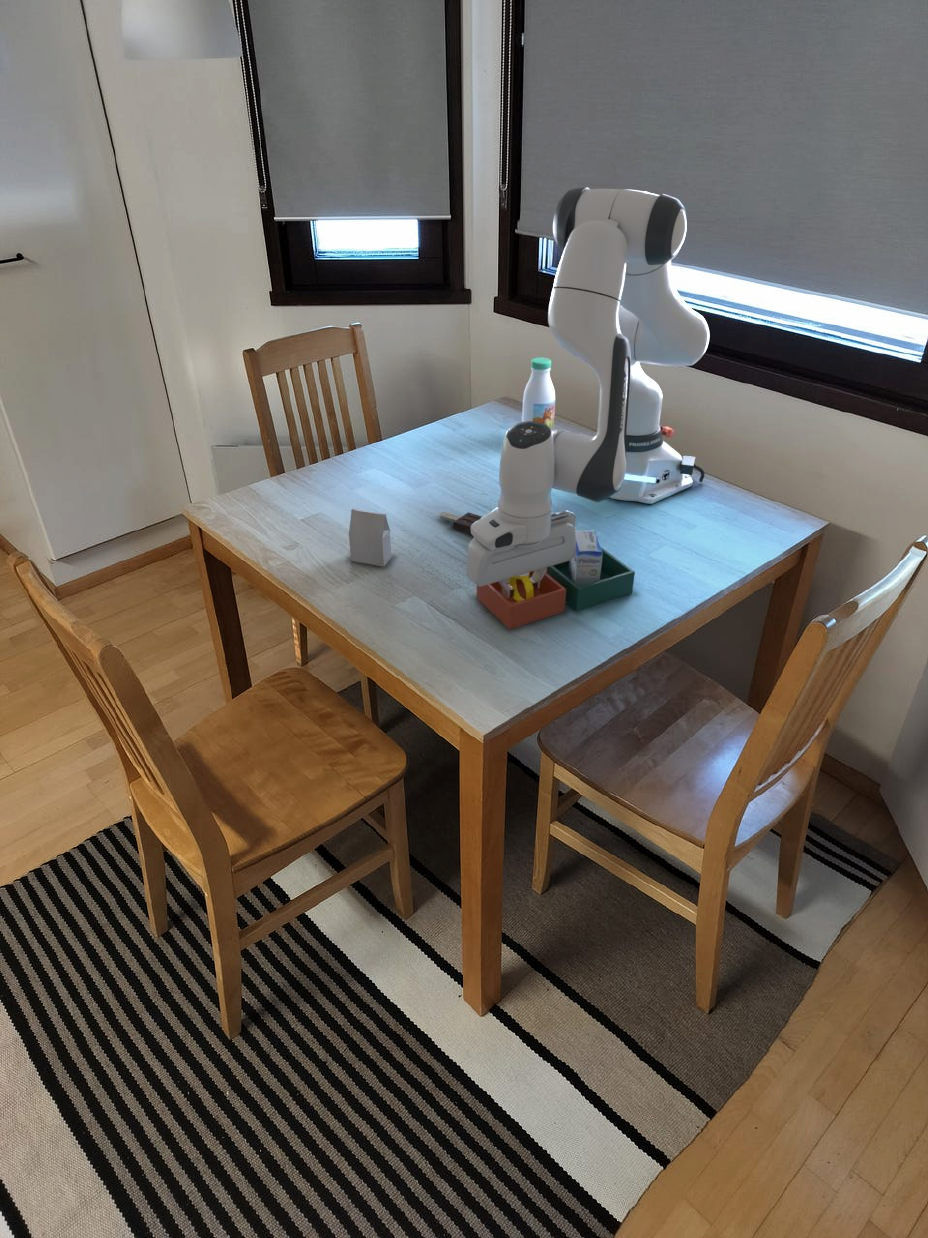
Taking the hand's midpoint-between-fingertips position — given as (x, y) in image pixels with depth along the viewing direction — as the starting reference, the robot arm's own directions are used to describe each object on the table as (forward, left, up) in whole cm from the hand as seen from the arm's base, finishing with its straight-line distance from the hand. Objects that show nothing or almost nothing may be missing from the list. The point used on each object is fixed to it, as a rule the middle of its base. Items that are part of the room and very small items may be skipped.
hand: (520, 592), depth 152 cm
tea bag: (+17, -27, -3) cm, 32 cm away
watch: (0, 0, -2) cm, 2 cm away
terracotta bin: (0, 0, -3) cm, 3 cm away
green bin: (-13, 0, -3) cm, 14 cm away
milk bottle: (-42, -60, -3) cm, 74 cm away
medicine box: (-13, 0, -2) cm, 14 cm away
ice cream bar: (-6, -29, -3) cm, 30 cm away
